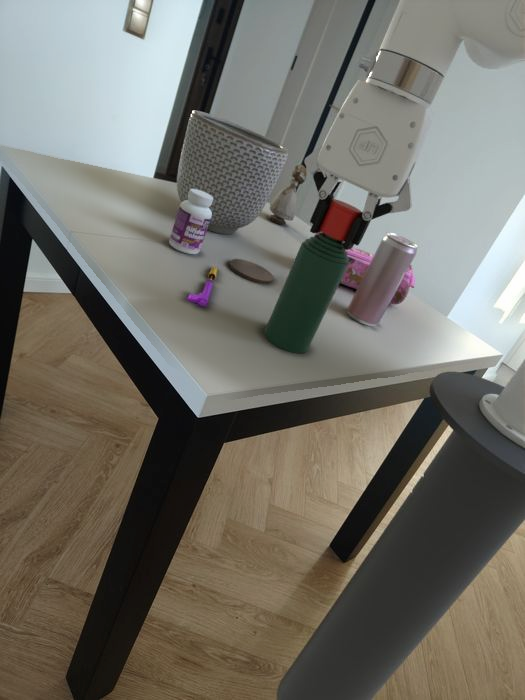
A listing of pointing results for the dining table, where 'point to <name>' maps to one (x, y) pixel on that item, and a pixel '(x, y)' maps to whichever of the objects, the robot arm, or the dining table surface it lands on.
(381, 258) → the beverage can
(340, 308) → the dining table surface
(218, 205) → the planter
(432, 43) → the robot arm
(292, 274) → the bottle
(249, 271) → the coaster
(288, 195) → the figurine
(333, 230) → the cap
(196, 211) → the pill bottle
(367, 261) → the pencil case
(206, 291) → the purple tool
